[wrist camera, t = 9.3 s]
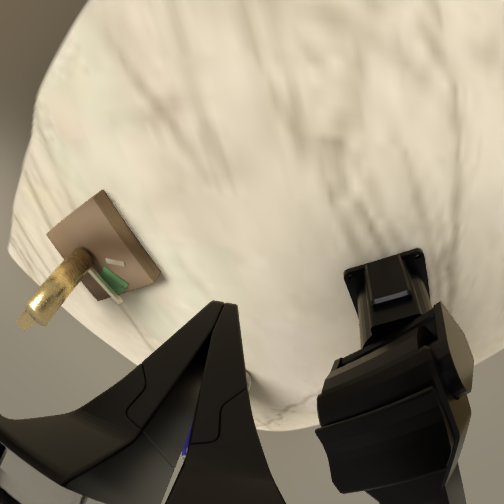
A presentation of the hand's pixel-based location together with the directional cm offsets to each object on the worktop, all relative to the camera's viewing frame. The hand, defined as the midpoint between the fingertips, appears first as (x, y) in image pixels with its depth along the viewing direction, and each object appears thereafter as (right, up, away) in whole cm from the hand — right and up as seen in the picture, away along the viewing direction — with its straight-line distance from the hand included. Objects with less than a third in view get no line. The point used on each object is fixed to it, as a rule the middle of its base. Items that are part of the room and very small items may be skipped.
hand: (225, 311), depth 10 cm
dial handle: (-15, 0, +16) cm, 22 cm away
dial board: (-13, +2, +16) cm, 21 cm away
